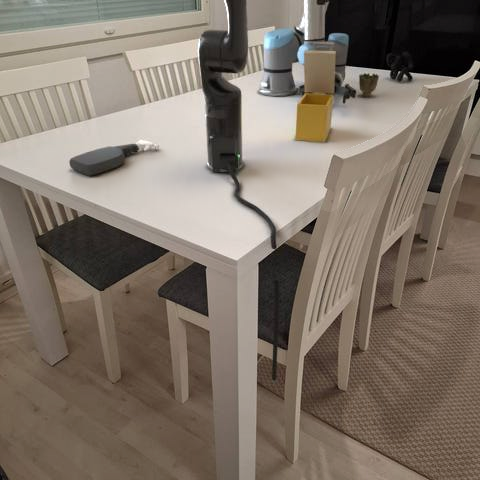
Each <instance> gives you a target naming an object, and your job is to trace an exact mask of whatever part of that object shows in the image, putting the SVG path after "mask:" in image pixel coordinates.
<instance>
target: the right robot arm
mask: <svg viewBox="0 0 480 480" xmlns="http://www.w3.org/2000/svg"><path fill="white" fill-rule="evenodd" d="M329 3H330V1H329V2H325V4H324V5H317V0H303V8H302V9H303V10H302V13H301V15H300V16H301V17H300V19H299V20H298V21H296V22H295V23H294V26H293V29H291V28H279V29H273V30H270V31H268V32H266V33H265V35H264V37H263V45H262V46H263V73H262V77H261V79H260V83H259V86H258V93H259V94H260V95H263V96H266V97H267V96H268V97H288V96H291V95H294V94H296V90H297V87H296V83H295V79H294V76H293V75H294V74H293V64H296V63H300V64H301V65H302V66H304V51H305V50H312V48H313V42H334V48H333V50H332V51H336V59H335V82H334V94H329V95H334V96H335V95H340V96H342V104H346V101H347V100H350V99H351V98H352V99H356V96H357V89H355V88H353V87H352V86H351V85H350V84H349V83H345V84H344V85H343V83H344V81H345V79H346V68H347V57H348V50H349V39H350V38H349V37H350V36H349V35H348V34H346V33H343V32H342V33H341V32H333V33H329V35H328V39H327V40H325V37H326V36H325V30H326V28H325V27H326V24H325V23H326V12H327V9H328V7H329ZM329 50H330V47H315V51H329ZM305 93H310V92H305V84H301V85H299V86H298V94H299V95H301V96H303V95H304V94H305ZM324 94H328V93H324Z"/></svg>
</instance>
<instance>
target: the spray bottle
mask: <svg viewBox="0 0 480 480" xmlns="http://www.w3.org/2000/svg"><path fill="white" fill-rule="evenodd" d="M159 148H160V145H159V144H158V143H155V142H151V141H148V140H144V139H139V140H138V141H137V142H135V143H129V144H128V143H126V144H122V145H113V146H105V147H100V148H97V149H94V150H90V151H87V152H83V153H81V154H78V155H74V156H73V157H70V159H69V161H68V162H69V167H70V168H71V169H72V170H74V171H75V172H78V173H81V174H83V175H85V176H89V177H90V176H91V177H92V176H95V175H99V174H102V173H105V172H107V171H110V170H113V169H116V168H118V167H120V166H122V165H123V164H124V163H125V158H126V156H127V155H131V154H133V153H138V151H140V150H143V151H144V152H146V151H147V150H149V149H159Z"/></svg>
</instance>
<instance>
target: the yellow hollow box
mask: <svg viewBox="0 0 480 480" xmlns="http://www.w3.org/2000/svg"><path fill="white" fill-rule="evenodd" d="M334 97H335V94H334V95H329V94H325V93H305V94H304V95H302V96H301V98H300V100H299V101H298V102H297V104H296V119H295V120H296V121H295V141H306V142H317V143H326V140H327V138H328V136H329V133H330V131H331V129H332V127H331V125H332V117H333V106H334Z"/></svg>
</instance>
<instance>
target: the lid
mask: <svg viewBox="0 0 480 480" xmlns="http://www.w3.org/2000/svg"><path fill="white" fill-rule="evenodd" d="M315 47H330V50H329V51H315ZM333 48H334V42H313V48H312V50H305V51H304V65H303V74H304V75H303V76H304V79H303V80H304V85H305V92H310V93H311V94H325V93H328V94H334V82H335V59H336V51H332V50H333ZM334 95H335V94H334Z"/></svg>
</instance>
